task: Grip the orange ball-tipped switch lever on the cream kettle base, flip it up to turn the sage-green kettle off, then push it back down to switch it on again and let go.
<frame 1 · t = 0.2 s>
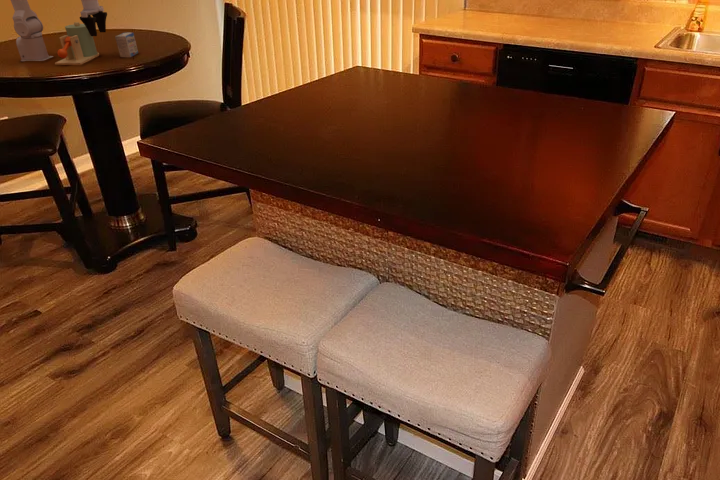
hand: (98, 34, 225), 10 cm above the table, tool pointing down, fingers open, 7 cm apart
switch bracket: (76, 62, 228), on the table
kettle: (86, 57, 235), on the table
switch: (66, 47, 221), point 6 cm above the table, hinge at -22.0°
medicine box: (129, 56, 237), on the table
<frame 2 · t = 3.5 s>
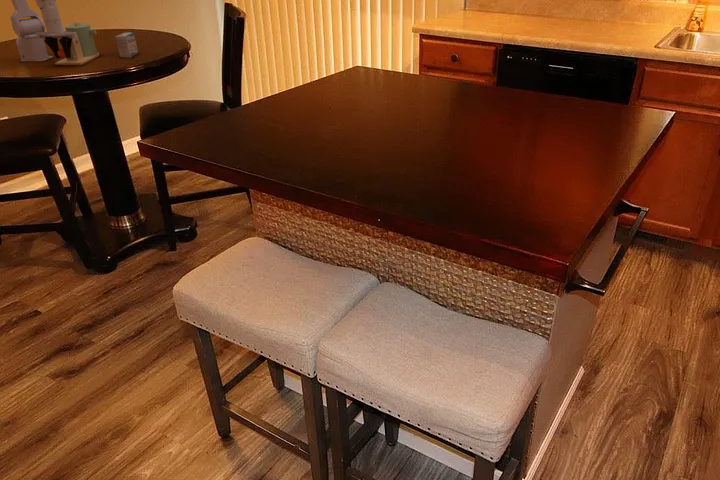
hand: (63, 57, 220), 3 cm above the table, tool pointing down, fingers closed on switch, 3 cm apart
switch: (66, 47, 221), point 6 cm above the table, hinge at -22.0°, touching gripper
everything else where it was.
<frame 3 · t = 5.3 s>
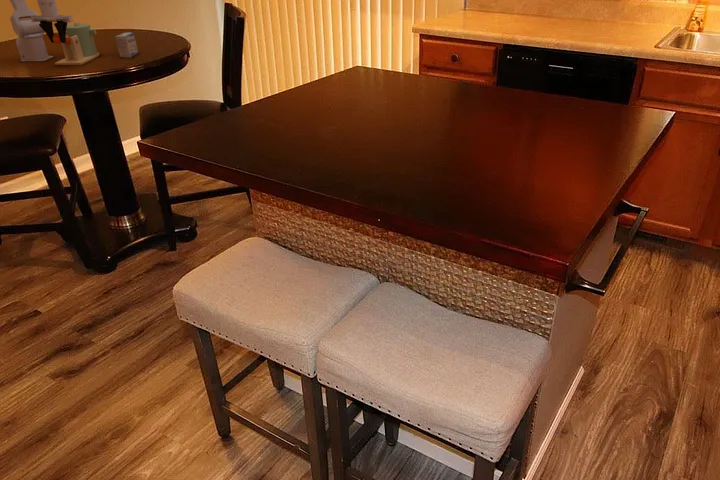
hand: (58, 42, 216), 9 cm above the table, tool pointing down, fingers closed on switch, 3 cm apart
switch: (63, 40, 219), point 9 cm above the table, hinge at 16.5°, touching gripper
everything else where it was.
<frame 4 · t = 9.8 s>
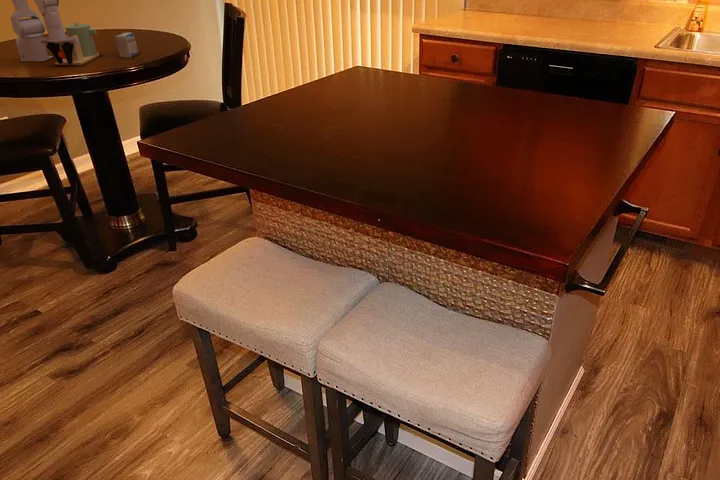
hand: (65, 63, 221), 1 cm above the table, tool pointing down, fingers closed on switch, 3 cm apart
switch: (66, 47, 221), point 6 cm above the table, hinge at -24.7°, touching gripper
everything else where it was.
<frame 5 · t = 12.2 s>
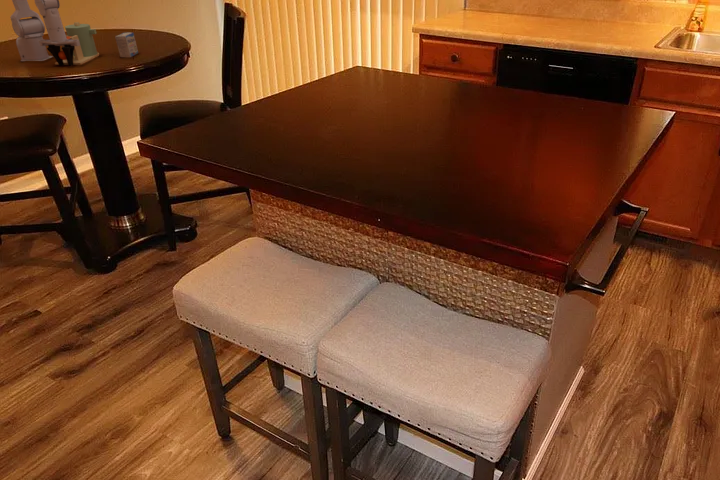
hand: (66, 65, 221), 1 cm above the table, tool pointing down, fingers closed on switch, 3 cm apart
switch: (66, 48, 221), point 6 cm above the table, hinge at -27.9°, touching gripper
everything else where it was.
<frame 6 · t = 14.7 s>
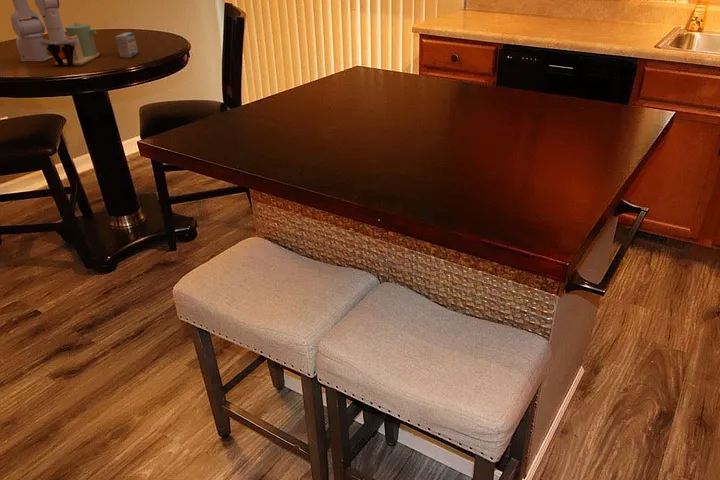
hand: (66, 65, 221), 1 cm above the table, tool pointing down, fingers closed on switch, 3 cm apart
switch: (66, 48, 221), point 6 cm above the table, hinge at -26.2°, touching gripper
everything else where it was.
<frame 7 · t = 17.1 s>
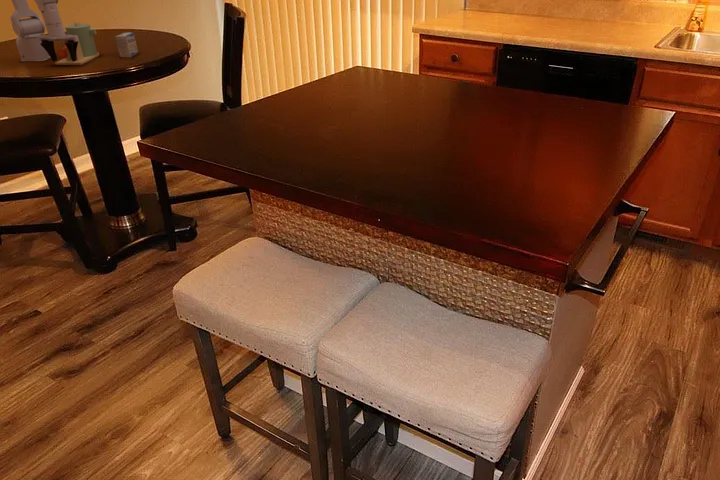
hand: (64, 60, 220), 2 cm above the table, tool pointing down, fingers open, 7 cm apart
switch: (66, 47, 221), point 6 cm above the table, hinge at -23.3°
everything else where it was.
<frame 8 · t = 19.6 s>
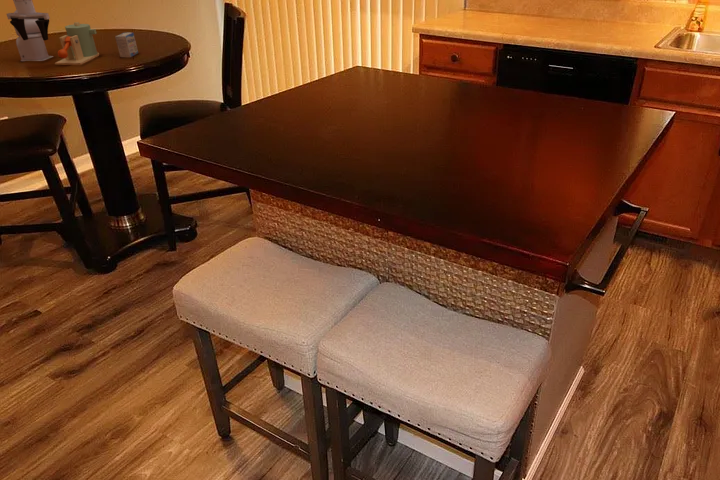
hand: (35, 39, 214), 10 cm above the table, tool pointing down, fingers open, 7 cm apart
nothing on the table moved.
at the end: switch reached +16° during the clip, -23° at the end; switch at -23° (first picture: -22°) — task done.
